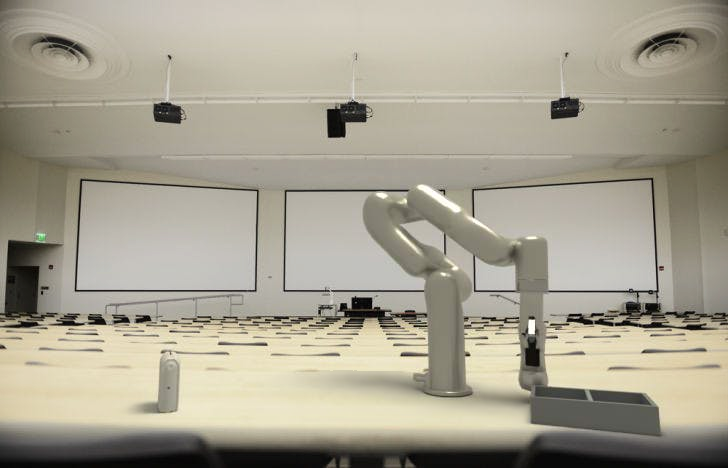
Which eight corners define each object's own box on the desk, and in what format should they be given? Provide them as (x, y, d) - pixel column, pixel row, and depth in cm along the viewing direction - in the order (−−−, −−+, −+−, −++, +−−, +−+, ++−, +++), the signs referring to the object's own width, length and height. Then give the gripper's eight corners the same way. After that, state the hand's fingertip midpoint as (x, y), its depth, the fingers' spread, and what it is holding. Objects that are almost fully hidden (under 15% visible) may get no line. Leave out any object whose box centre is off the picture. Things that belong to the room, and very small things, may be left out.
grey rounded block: (179, 411, 100) (181, 353, 102) (157, 414, 99) (160, 355, 100) (176, 401, 110) (179, 348, 111) (157, 403, 108) (159, 349, 109)
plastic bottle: (551, 395, 105) (549, 307, 107) (520, 393, 106) (519, 306, 108) (545, 389, 111) (544, 305, 113) (516, 387, 113) (515, 305, 115)
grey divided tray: (531, 423, 91) (530, 396, 91) (532, 408, 102) (531, 385, 102) (660, 435, 83) (658, 406, 83) (647, 418, 94) (645, 392, 94)
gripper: (517, 287, 121) (518, 357, 119) (513, 287, 105) (514, 368, 103) (548, 287, 118) (549, 360, 116) (548, 288, 102) (550, 371, 100)
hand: (532, 363), depth 109 cm, fingers closed on plastic bottle, 5 cm apart
